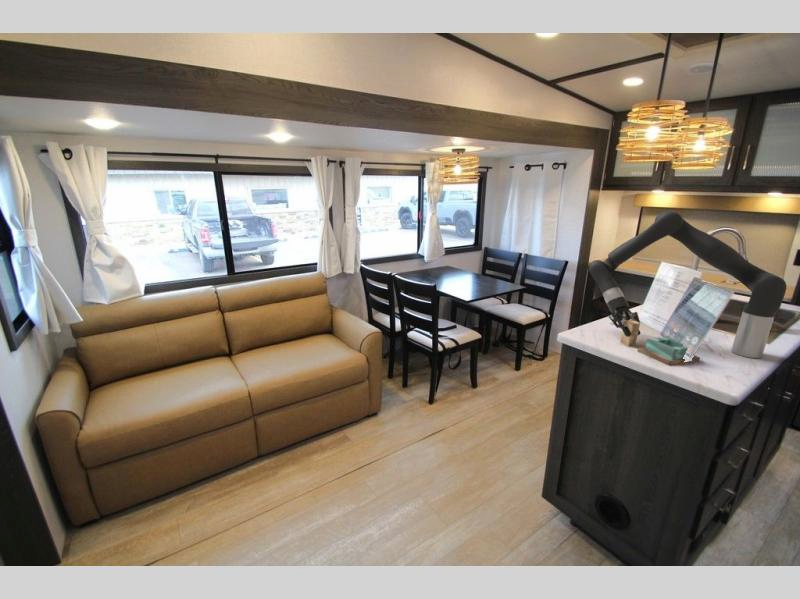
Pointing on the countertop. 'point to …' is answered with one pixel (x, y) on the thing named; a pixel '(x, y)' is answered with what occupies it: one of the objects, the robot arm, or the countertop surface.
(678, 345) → the socket block
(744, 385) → the countertop surface
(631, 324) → the peg
